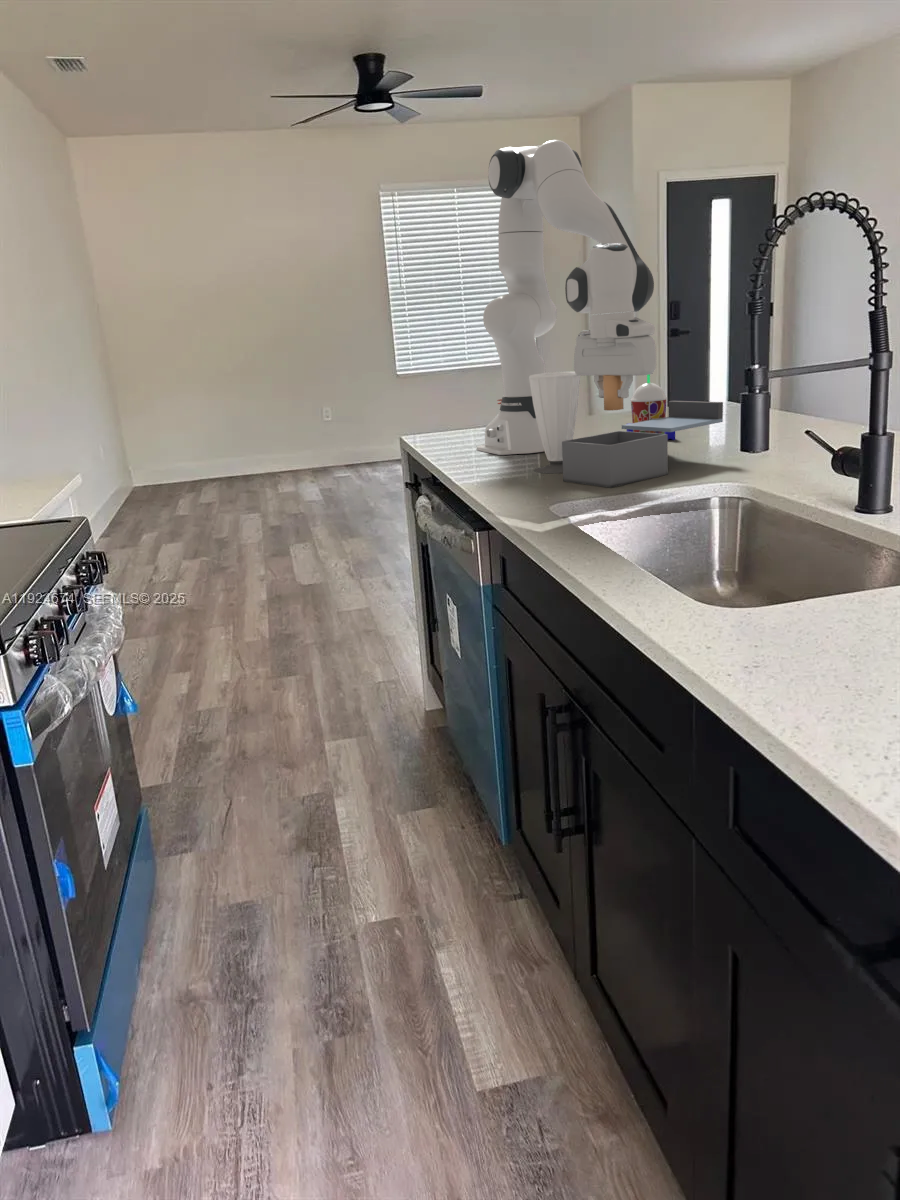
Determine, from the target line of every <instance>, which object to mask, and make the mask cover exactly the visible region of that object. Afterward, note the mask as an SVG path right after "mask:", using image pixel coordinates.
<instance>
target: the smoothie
mask: <svg viewBox="0 0 900 1200" xmlns="http://www.w3.org/2000/svg"><path fill="white" fill-rule="evenodd" d="M646 378H647V379H646V382H644V383H642V384H641V385H639V386H638V387H637V388H636V389H635V390H634V392H633V393H632V397H631V398H630V406H631V407H630V409H631V418H632V419H631V420H632V422H631V423H637V422H643V421H648V420H654V419H659V418H665V417H667V415H666V414H667V399H668V397H667V395H666V393H665V391H664V389H663V388H662V387H661V386H660V385H659V384H657V383H655V382H651V374H649V375H646ZM633 432H642V433H657V434H665V432H661V431H645V430H633Z"/></svg>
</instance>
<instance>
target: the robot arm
mask: <svg viewBox="0 0 900 1200" xmlns="http://www.w3.org/2000/svg"><path fill="white" fill-rule="evenodd" d="M582 165H583V163H582V160H581V158H580V155H579V153H578V152H577V151H576V150H574V149H572V148H571V146H570V145H569V144H568V143H567V142H565V141H563V140H560V139H552V140H548V141H546V142H544V143H542V144H541V145H538V144H537V145H534V146H532V145H531V146H530V145H529V146H519V147H513V146H507V147H503V148H499V149H496V151H494V153H493V155H492V156H491V157H490V159H489V164H488V171H487V172H488V173H487V174H488V176H487V177H488V184H489V187H490V189H491V191H492V192H493V194H494V195H495V196H496V197H499V198H501V199H500V205H499V206H500V207H499V214H498V215H499V216H498V229H497V230H498V267H499V268H498V269H499V271H500V273H501V274H502V275H503V277H504V280H505V283H506V287H507V292H508V293H506V294H505V293H504V294H502V295H500V296H497V297H496V298H494V299H492V300H491V301H490V302H489V303H487V304H486V307H484V311H483V316H482V317H483V319H482V320H483V326H484V329H485V330H486V332H487V333H488V334H489V335H490V336H491V338H492V340H493V342H494V344H495V348H496V351H497V354H498V356H499V362H500V366H501V376H502V378H501V379H502V390H503V396H502V397H501V399H497V400H496V401H497V402H498V403H497V405H500V406H499V407H500V408H499V412H498V413H497V415H496V416H495V417H494V418H493V419H492V420H491V421H490V422H489V423H488V424H487V425H486V427H485V429H484V444H480V445H478V446H476V451H479V452H484V453H488V454H489V453H490V454H494V455H499V456H505V455H517V454H519V455H520V454H521V455H522V454H523V455H524V454H534V453H543V452H545V451H544V448H543V444H542V441H541V437H540V433H539V429H538V425H537V420H536V415H535V411H534V406H533V400H532V394H531V387H530V380H529V376H530V375H534V374H541V373H547V372H546V363H545V360H544V358H543V357H542V356H541V354H540V352H539V350H538V346H537V343H536V338H539V337H541V336H544V335H545V334H547V333H548V332H549V331H552V329H553V327H554V326H555V325H556V322H557V319H558V312H557V310H558V309H557V307H556V305H555V303H554V301H553V300H552V298H551V295H550V291H549V287H548V286H549V285H548V283H547V278H546V272H545V259H544V258H545V255H544V253H545V251H544V248H545V247H544V246H545V245H544V244H545V243H544V242H545V241H544V237H545V236H544V235H545V233H544V232H545V231H544V230H545V228H544V224H545V223H544V219H545V220H546V222H547V224H549V225H550V226H551V227H553V228H555V229H557V230H559V231H563V232H566V233H570V234H576V235H581V236H584V237H588V238H589V239H592V240H594V241H596V242H597V244H596V245H594V246H592V247H591V249H590V250H589V251H590V253H589V256H588V258H587V259H586V261H584V262H583V263H582V264H581V265H580V266H577V267H574V268H573V269H572V270H571V272H569V274H568V275H567V277H566V280H565V299H566V303H567V304H568V306H569V307H570V308H571V309H572V310H573V311H574V312H576V313H578V314H579V313H580V314H589V322H590V323H589V325H590V329H588V330H587V329H583V330H581V331H580V332H579V333H578V334H577V336H576V339H575V347H574V356H573V371H575V373H576V375H577V376H580V377H581V376H586V377H587V376H588V377H589V376H590V377H591V376H593V380H594V381H593V382H594V383H595V385H596V388H597V389H598V398H600V399H604V387H603V375H613V376H617V375H621V381H623V383H622V386H621V389H619V390H617V391H618V398H623V399H628V398H629V396H630V392H629V391H630V388H631V385H632V383H633V381H634V376H647V375H649V374H650V375H652V374H653V373H654V372H655V371H656V368H657V349H656V348H657V347H656V342H655V339H654V337H653V336H652V335H654V334H655V324H653V323H651V322H648V321H646V320H644V319H641V318H639V317H636V316H635V312H639V311H641V310H642V309H643V308H644V307H646V305H647V303H649V301H650V300H651V298H652V296H653V294H654V290H655V282H654V276H653V273H652V271H651V269H650V268H649V267H648V265H647V264H646V263H645V261H643V259H642V258H641V256H639V253H638V252H637V250H636V248H635V247H634V245H633V243H632V241H631V239H630V237H629V236H628V233H627V232H626V230H625V228H624V226H623V225H622V222H621V220H620V219H619V217H618V216H617V214H616V212H615V211H614V209H613V208H612V206H611V205H610V204H608V203H607V202H606V201H604V200H602V199H601V197H599V196H598V195H597V193H595V191H594V190H593V189H592V187H591V186H590V185H589V182H588V181H587V178H586V176H585V173H584V171H583V166H582Z"/></svg>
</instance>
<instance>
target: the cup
mask: <svg viewBox="0 0 900 1200" xmlns="http://www.w3.org/2000/svg"><path fill="white" fill-rule="evenodd" d="M580 379H581V376H577V375H576V373H575V371H574V370H573V371H554V372H553V371H552V372H546V373H541V374H534V375H530V376H529V380H530V387H531V394H532V400H533V406H534V411H535V415H536V420H537V425H538V429H539V433H540V437H541V441H542V444H543V448H544V451H543V452H544V453H545V456H546V459H547V461H548V463H549V464H548V465H546V466H540V467H541V468H540V467H536V468H537V469H536V468H534V469H535V470H534V469H533V471H534V472H535V473H538V474H547V475H548V474H549V475H550V474H554V475H555V474H558V475H559V474H563V458H562V441H567V440H572V439H574V434H575V428H576V421H577V414H578V405H579V396H580V386H581V385H580V384H581V383H580V382H581V380H580Z"/></svg>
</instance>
